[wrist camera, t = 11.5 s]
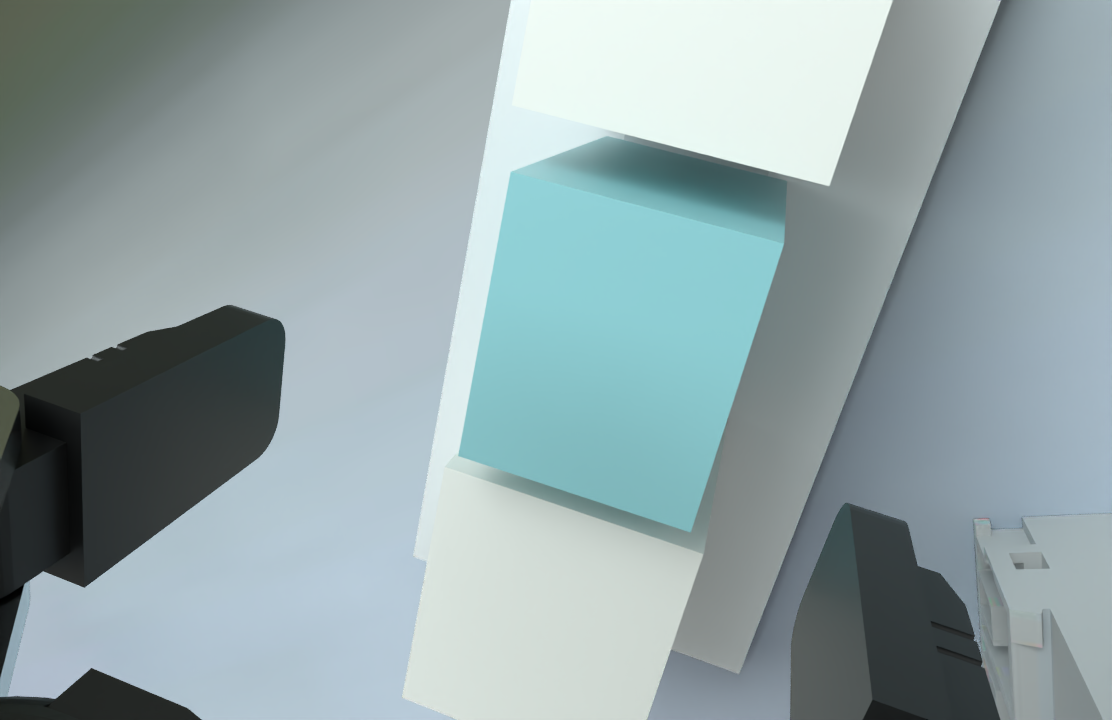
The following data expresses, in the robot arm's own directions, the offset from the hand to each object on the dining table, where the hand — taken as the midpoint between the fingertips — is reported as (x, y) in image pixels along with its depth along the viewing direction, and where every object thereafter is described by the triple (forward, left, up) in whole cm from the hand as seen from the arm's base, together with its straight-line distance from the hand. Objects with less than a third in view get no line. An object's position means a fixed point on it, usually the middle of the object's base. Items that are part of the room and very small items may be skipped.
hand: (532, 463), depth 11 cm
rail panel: (0, 0, -15) cm, 15 cm away
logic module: (0, 0, -13) cm, 13 cm away
